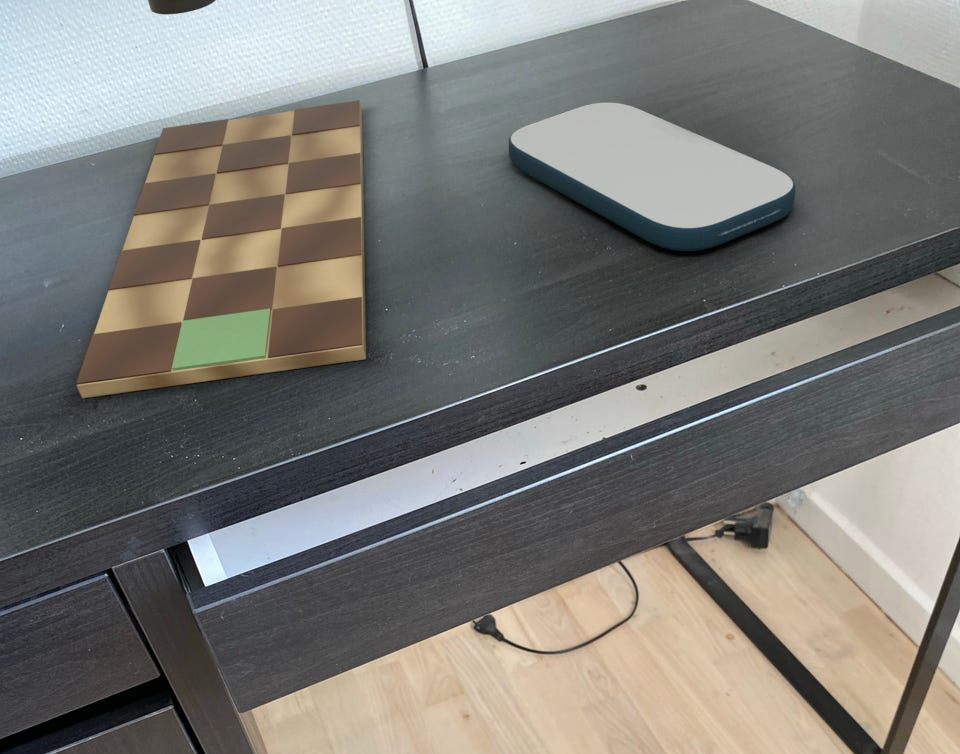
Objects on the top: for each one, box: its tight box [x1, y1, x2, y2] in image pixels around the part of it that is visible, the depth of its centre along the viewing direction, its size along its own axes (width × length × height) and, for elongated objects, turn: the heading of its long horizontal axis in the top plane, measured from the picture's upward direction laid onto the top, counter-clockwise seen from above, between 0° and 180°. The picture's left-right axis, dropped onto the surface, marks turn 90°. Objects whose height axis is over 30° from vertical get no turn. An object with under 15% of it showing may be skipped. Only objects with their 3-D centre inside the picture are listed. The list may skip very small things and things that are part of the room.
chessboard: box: [75, 99, 367, 399], centre depth 78 cm, size 18×42×1 cm, turn 5°
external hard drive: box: [508, 101, 796, 252], centre depth 75 cm, size 24×12×2 cm, turn 31°
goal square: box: [172, 309, 271, 371], centre depth 65 cm, size 6×6×1 cm
